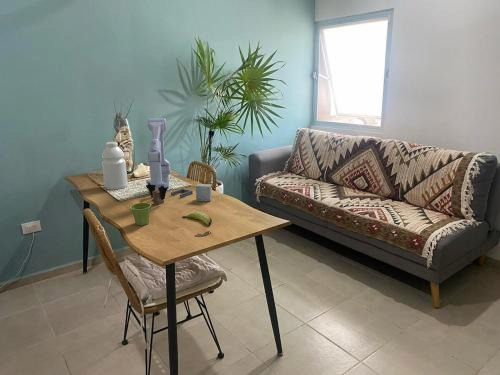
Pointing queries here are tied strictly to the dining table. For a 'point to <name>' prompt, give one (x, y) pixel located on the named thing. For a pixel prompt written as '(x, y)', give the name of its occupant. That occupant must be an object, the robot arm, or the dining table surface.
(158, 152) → the robot arm
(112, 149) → the bottle
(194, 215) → the green banana
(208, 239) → the dining table surface
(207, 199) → the medicine box
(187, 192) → the cradle
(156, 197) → the plug
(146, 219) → the plant pot
